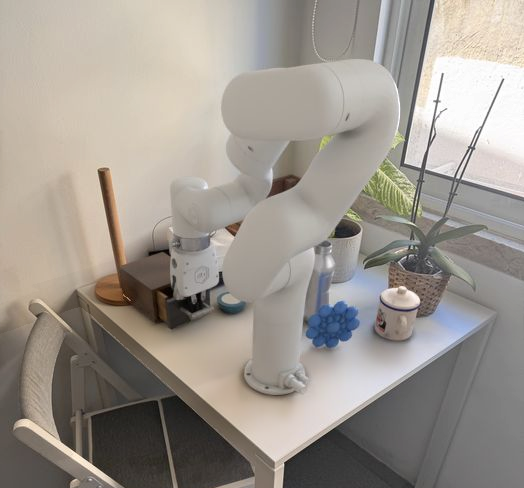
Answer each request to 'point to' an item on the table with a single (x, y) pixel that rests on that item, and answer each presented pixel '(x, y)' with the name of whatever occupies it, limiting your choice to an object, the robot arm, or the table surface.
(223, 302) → the teal white round disc
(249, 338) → the table surface
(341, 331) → the blue knobbly flower
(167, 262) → the cabinet
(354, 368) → the table surface
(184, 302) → the drawer
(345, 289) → the table surface
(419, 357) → the table surface
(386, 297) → the teacup with lid
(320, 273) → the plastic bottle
